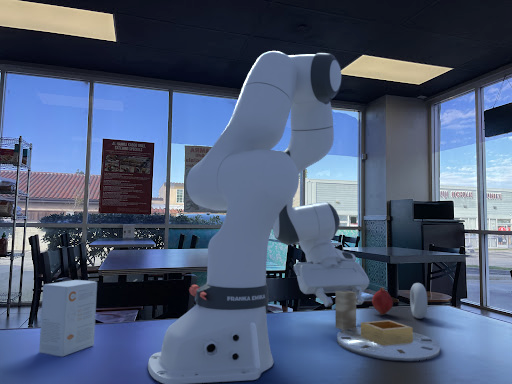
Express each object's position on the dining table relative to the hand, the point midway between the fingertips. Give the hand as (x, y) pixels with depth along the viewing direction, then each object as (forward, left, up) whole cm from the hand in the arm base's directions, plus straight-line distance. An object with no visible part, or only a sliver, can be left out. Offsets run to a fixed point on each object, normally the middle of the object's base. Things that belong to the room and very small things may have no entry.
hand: (345, 304), depth 100 cm
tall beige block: (0, 0, -6) cm, 6 cm away
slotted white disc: (0, -15, -6) cm, 16 cm away
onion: (+20, +10, -6) cm, 23 cm away
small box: (-64, +3, -6) cm, 64 cm away
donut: (+27, +3, -6) cm, 28 cm away
